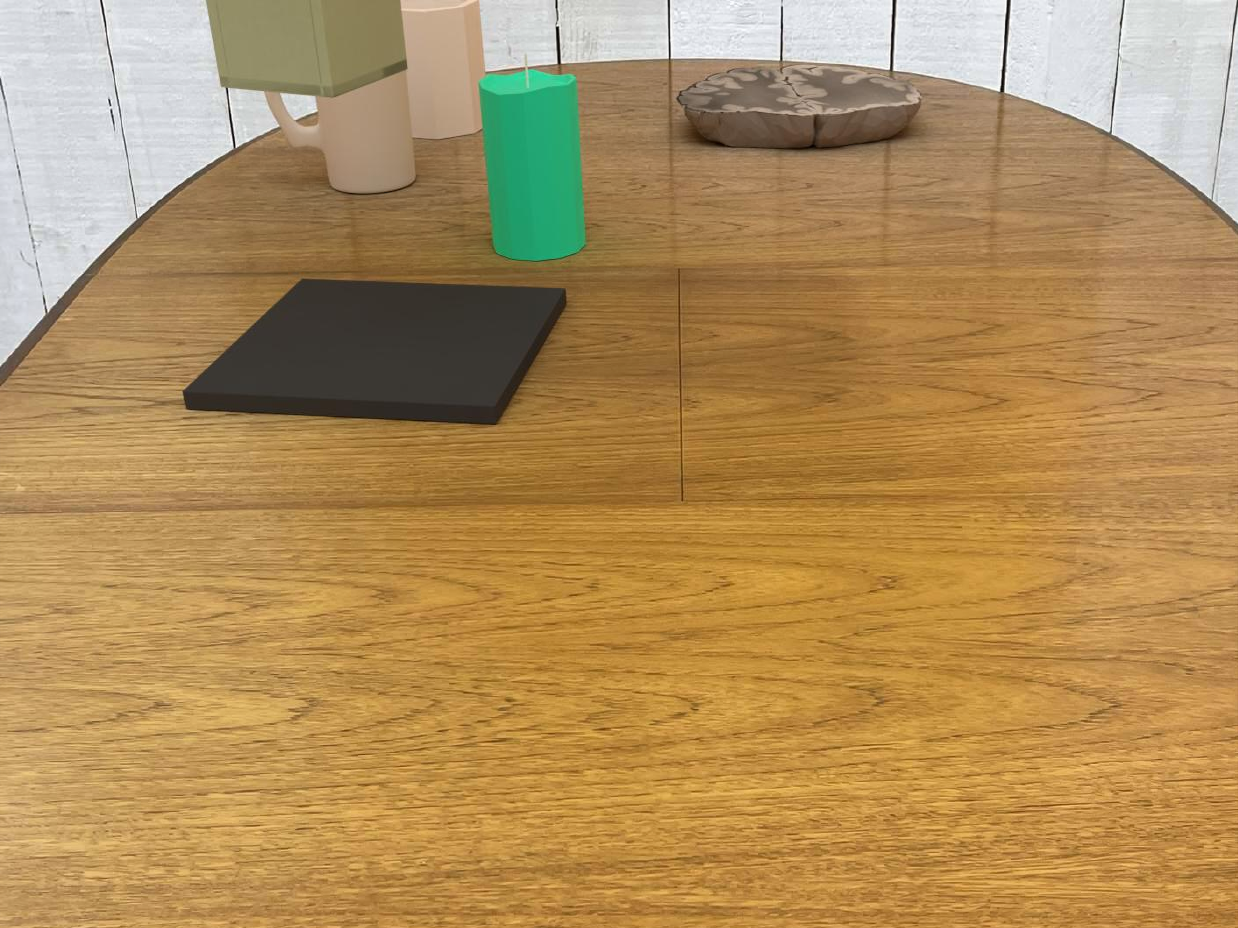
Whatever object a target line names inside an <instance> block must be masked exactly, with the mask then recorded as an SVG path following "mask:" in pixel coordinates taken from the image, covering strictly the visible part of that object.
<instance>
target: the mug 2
mask: <svg viewBox="0 0 1238 928" xmlns="http://www.w3.org/2000/svg"><path fill="white" fill-rule="evenodd" d="M400 2H401V11H402V21H403V30H404V39H405V48H406V58H407V67H408V69H407V70H406V76H407V87H408V98H409V108H410V119H411V129H412V139H426V140H443V139H450V138H454V137H455V138H456V137H461V136H468V135H474V134H476V133H478V132H479V131H481V130H483V129H482V118H481V107H480V95H479V84H478V82H479V81H480V80H481V79H482V78H484V77H485V76H486V75H487V74H486V63H485V53H484V42H483V41H484V40H483V32H482V31H483V29H482V19H481V18H482V17H481V7H480V0H400Z"/></svg>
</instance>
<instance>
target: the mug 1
mask: <svg viewBox="0 0 1238 928" xmlns="http://www.w3.org/2000/svg"><path fill="white" fill-rule="evenodd" d="M263 93H264V97H265V100H266V102H267V105H268V108H269V110H270V112H271V114H272V116H273V117H274V119H275V121H276V122H277V125H278V127H280V130H281V131H282V132H283V134H284V136H285V138H286V139H287V141H288V143H289V144H290V146H291V147H292V148H294V149H303V148H312V149H316V150H319V151H321V152H322V153H323V155H324V158H325V163H326V170H327V176H328V181H329V185H330V187H332V188H333V189H334V190H337V191H340V192H343V193H347V194H358V195H359V194H360V195H361V194H362V195H363V194H365V195H367V194H379V193H380V194H381V193H387V192H391V191H392V192H393V191H396V190H399V189H403V188H406V187H408V186H409V185H411V184H412V183H414V182H415V180H416V176H417V175H416V174H417V173H416V164H415V151H414V140H413V139H414V138H412V129H411V119H410V108H409V98H408V87H407V76H406V70H404V71H402V72H399V73H397V74H394V75H391V76H389V77H386V78H384V79H381V80H378V81H376V82H373V83H371V84H368V85H365V86H363V87H360V88H358V89H355V90H352V91H350V92H347V93H344V94H342V95H339V96H337V97H334V98H330V97H318V96H314V98H315V104H316V105H315V106H316V110H317V111H316V112H317V117H318V122H317V123H316V124H315V125H310V126H309V125H308V126H305V125H302V124H300V123H299V122H298V121H296V120H295V119H294V118H293V117H292V116H291V114H290V113H289V112H288V110H287V107H286V105H285V103H284V101H283V98H282V95H281V93H277V92H266V91H263Z"/></svg>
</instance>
